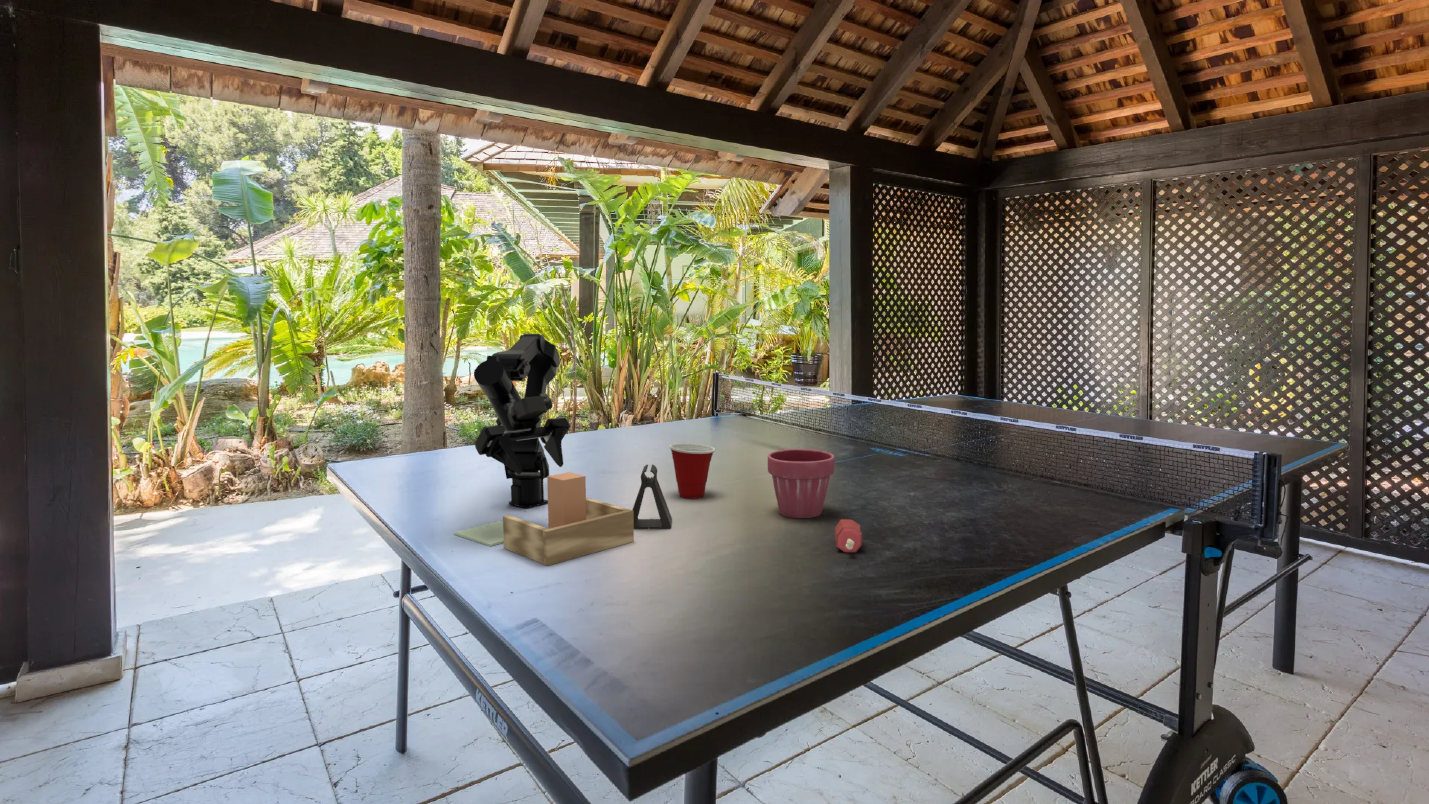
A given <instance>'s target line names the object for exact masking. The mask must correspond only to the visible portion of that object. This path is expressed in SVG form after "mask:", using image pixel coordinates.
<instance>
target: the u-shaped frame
mask: <svg viewBox="0 0 1429 804" xmlns="http://www.w3.org/2000/svg"><path fill="white" fill-rule="evenodd" d="M502 520H503V533H504V543H503V548H504V549H506V550H508V551H511V552H513V553H516V554H518V555H521V556H523V557H526V558H528V559H530V560H532V561H535V562H537V563H539V564H540V563H541V564H542V565H545V566H551V565H552V566H553V565H555V564H558V563H562V562H563V563H564V562H566V561H569V560H573V559H576V558H581V557H584V556H586V555H590V554H595V553H597V552H601V551H605V550H608V549H612V548H615V547H618V546H619V547H620V546H623V545H626V544H629V543H630V544H631V543H633V542H635V533H634V532H635V529H634V514H633V510H632V509H631V508H630V509H629V508H625V507H622V506H618V505H615V504H611V503H608V502H605V501H601V500H597V499H593V498H589V497H586V520H584V521H580V522H575V523H571V524H567V525H563V526H559V527H555V528H551V529H549V527H546V526H545V527H544V526H541V525H538V524H536V523H533V522H530V521H527V520H524V519H522V518H518V517H515V516H513V515H510V514H508V515H502Z"/></svg>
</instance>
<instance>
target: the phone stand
mask: <svg viewBox="0 0 1429 804" xmlns="http://www.w3.org/2000/svg"><path fill="white" fill-rule="evenodd" d="M648 467H649V464H645V465H644V466H643V468H642V472H641V475H640V483H641V484H640V487H639V489H638V492H637V496H636V498H635V501H634V504H633V506H632V509H631V510H633V514H634V530H669V529H672V524H673V518H672V517H673V516H672V514H671V512H670V509H669V507H668V504H667V501H666V499H665V496H664V493H663V491H662V489H661V486H660V483H659V481H658V468H657V466H656V465H654V464H653V463H652V464H651V467H650V469H649V470H650V471H649V472H650V473H652V474H653V476H651V477H650V476H647V475H646V474H645V473H646V472H647V471H648ZM647 488H650V489H651V491H652V495H653V499H654V502H655V505H656V508H657V513H658V517H659V518H642V519H641V518H639V515H640V511H641V508H642V507H641V506H642V503H643V499H644V495H645V492H646V489H647Z"/></svg>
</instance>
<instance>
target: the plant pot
mask: <svg viewBox="0 0 1429 804" xmlns="http://www.w3.org/2000/svg"><path fill="white" fill-rule="evenodd" d="M767 472H768V474H770V475H771V476H772V477H771V478H772V484H773V489H774V494H775V498H776V502H777V507H778V512H779V513H780V515H782V516H784V517H788V518H793V519H809V518H815V517H818V516H820V515H821V514H822V513H823V507H824V504H825V500H826V495H827V493H828V487H829V483H830V479H831V478H830V477H831V476H832V475H834V473H835V455H834V454H832V453H831V452H828V451H825V450H819V449H818V450H817V449H811V448H810V449H809V448H787V449H780V450H776V451H772V452H770V453H768V455H767Z"/></svg>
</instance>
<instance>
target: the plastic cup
mask: <svg viewBox="0 0 1429 804" xmlns="http://www.w3.org/2000/svg"><path fill="white" fill-rule="evenodd" d="M669 448H670V451H671V455H672V461H673V467H674V474H675V481H676V484H677V490H678V494H679V497H680V498H683V499H700V498H703V497H704V495H705V492H706V486H707V481H708V477H709V471H710V465H711V461H712V457H713V454H714V452H715V451H716V448H715V447H714V446H711V445H707V444H701V443H694V442H693V443H691V442H680V443H679V442H677V443H671V444H669Z"/></svg>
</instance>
